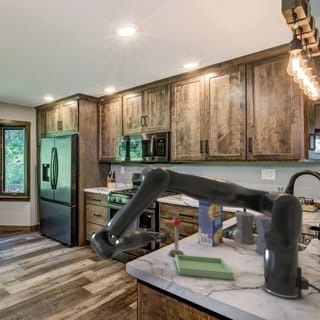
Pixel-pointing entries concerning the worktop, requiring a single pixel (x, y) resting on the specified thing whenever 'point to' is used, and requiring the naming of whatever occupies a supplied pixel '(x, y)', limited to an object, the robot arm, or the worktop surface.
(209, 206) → the juice carton
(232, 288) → the worktop surface
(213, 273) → the serving tray
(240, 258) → the worktop surface
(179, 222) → the red topped grey rod
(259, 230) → the moka pot
